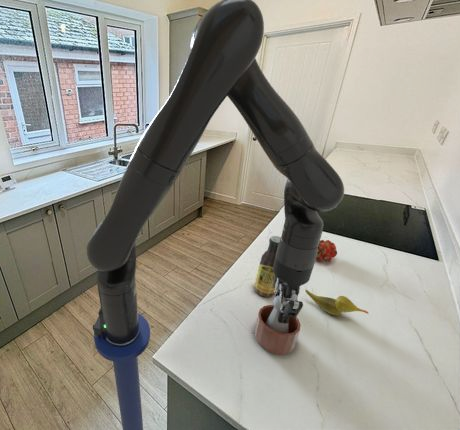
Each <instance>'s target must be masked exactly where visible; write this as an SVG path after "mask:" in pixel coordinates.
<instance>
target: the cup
mask: <svg viewBox="0 0 460 430" xmlns="http://www.w3.org/2000/svg"><path fill="white" fill-rule="evenodd" d="M273 309H274V306H273V304H267V305H264V306H262V307H260V308H259V311H258V313H257V317H256V323H255V326H254V338H255V340H256V342H257V343H258V345H259V346H260V347H262V348H263V349H264V350H266V351H267V352H269V353H270V354H271V353H272V354H274V355H279V356H285V355H288V354H290V353H292V352H293V351H294V349H295V347H296V344H297V341H298V338H299V335H300V332H301V327H302V324H301V322H300V319H299V318H298V316H297V317H296V318H293V317H290V318H289V322H288V334H285V333H279V332H276V331H274V330H272V329H270V328H269V327H268V326H266V325H265V323H266V321H267V319H268V318H269V316H270V314H271V312H272V310H273Z"/></svg>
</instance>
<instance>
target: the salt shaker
mask: <svg viewBox="0 0 460 430" xmlns="http://www.w3.org/2000/svg"><path fill="white" fill-rule="evenodd" d="M283 299H289V298H283ZM272 305H274V309H273V310H272V312H271V314H270V316H269V318H268V319H267V321H266V323H265V325H266V326H268V327H269V328H270V329H272V330H274V331H276V332H279V333H285V334H288V323H287V324H284V323H279V322H278V316H279V312H280V308H281V302H280V301H279V296H276V297H275V296H274V298H273V301H272ZM286 305H287V304H285V307H286Z"/></svg>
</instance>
